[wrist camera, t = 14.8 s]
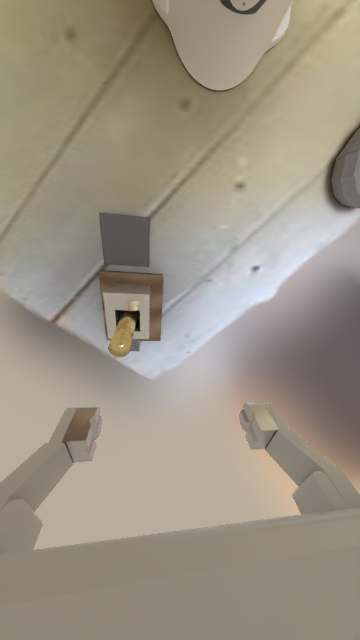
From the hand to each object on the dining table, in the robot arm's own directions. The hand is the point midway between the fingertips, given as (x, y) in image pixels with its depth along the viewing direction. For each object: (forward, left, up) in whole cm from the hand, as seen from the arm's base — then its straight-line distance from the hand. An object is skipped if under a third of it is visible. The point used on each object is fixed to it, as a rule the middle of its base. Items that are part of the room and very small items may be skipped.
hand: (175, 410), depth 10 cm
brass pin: (+7, -7, -31) cm, 33 cm away
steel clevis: (+8, -6, -31) cm, 33 cm away
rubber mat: (-7, -8, -33) cm, 34 cm away
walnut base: (+7, -7, -33) cm, 34 cm away
